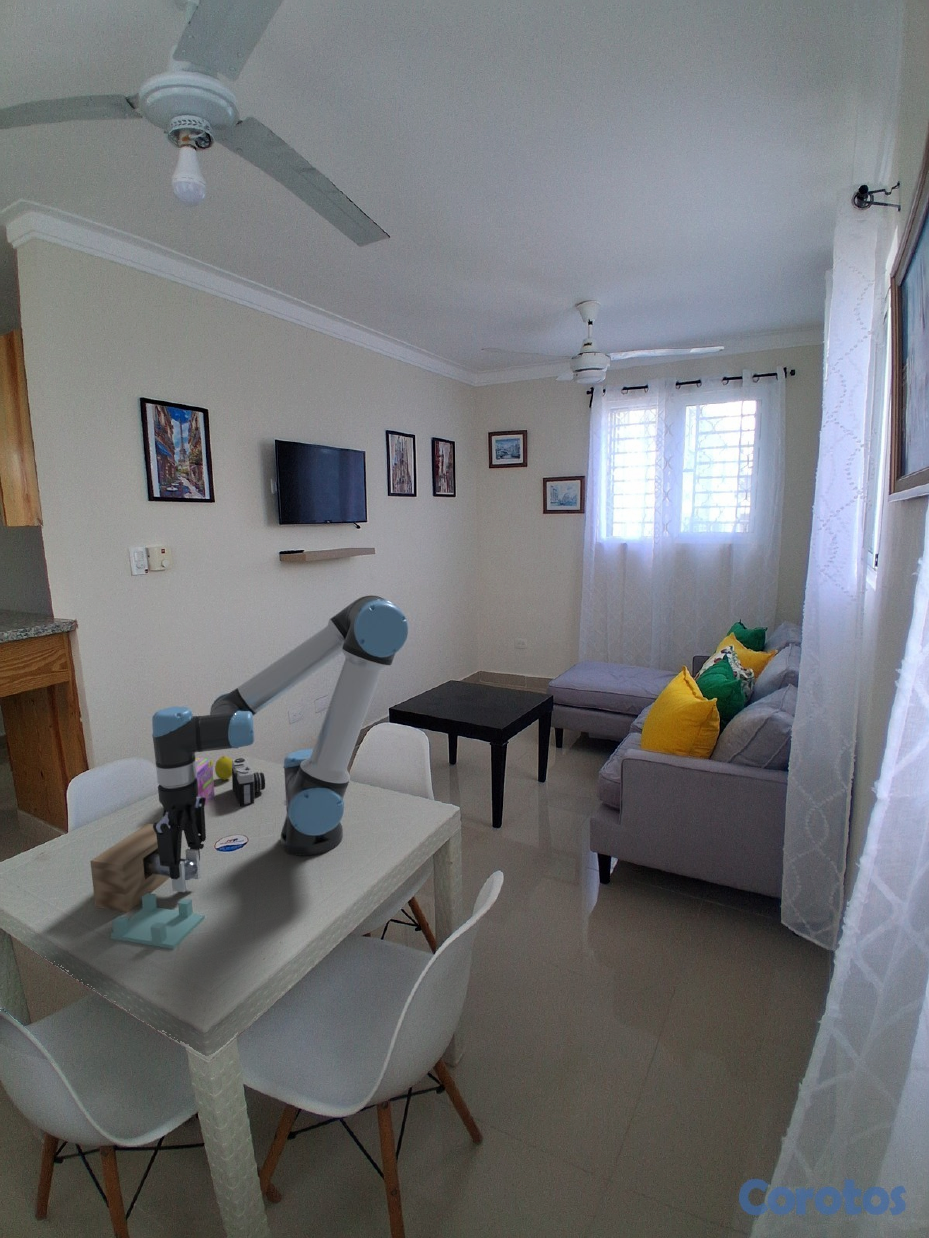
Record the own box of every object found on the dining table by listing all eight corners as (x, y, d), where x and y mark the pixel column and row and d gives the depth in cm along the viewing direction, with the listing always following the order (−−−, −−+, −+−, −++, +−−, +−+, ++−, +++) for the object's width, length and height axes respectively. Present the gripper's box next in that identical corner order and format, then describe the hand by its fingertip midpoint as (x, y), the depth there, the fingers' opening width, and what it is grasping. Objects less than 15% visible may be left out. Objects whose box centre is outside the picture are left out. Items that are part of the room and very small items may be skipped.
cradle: (205, 919, 120) (203, 901, 120) (174, 950, 112) (172, 930, 111) (145, 910, 123) (144, 892, 123) (111, 939, 115) (109, 920, 114)
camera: (267, 803, 171) (265, 770, 170) (233, 809, 168) (230, 775, 166) (264, 784, 184) (262, 753, 182) (232, 789, 180) (230, 757, 179)
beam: (180, 869, 138) (177, 827, 136) (127, 912, 123) (123, 865, 121) (151, 865, 140) (147, 823, 138) (95, 907, 124) (90, 860, 123)
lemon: (223, 785, 183) (221, 760, 182) (212, 781, 186) (210, 757, 185) (238, 779, 188) (237, 754, 186) (227, 775, 190) (225, 751, 189)
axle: (201, 876, 129) (202, 858, 129) (189, 884, 125) (189, 866, 125) (125, 861, 134) (125, 844, 134) (110, 869, 130) (111, 851, 130)
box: (199, 812, 166) (196, 772, 164) (179, 812, 166) (175, 772, 164) (215, 795, 176) (212, 757, 174) (196, 795, 176) (193, 757, 174)
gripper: (189, 764, 134) (198, 860, 137) (131, 797, 117) (142, 905, 121) (218, 766, 132) (226, 864, 136) (163, 801, 116) (174, 910, 119)
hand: (187, 883), depth 128 cm, fingers closed on axle, 4 cm apart
